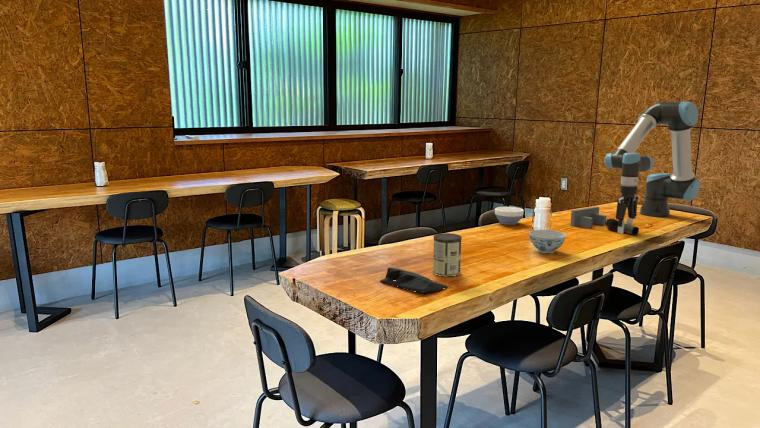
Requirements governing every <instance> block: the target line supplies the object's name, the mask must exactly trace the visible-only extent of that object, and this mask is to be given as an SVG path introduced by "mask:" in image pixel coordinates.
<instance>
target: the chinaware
mask: <svg viewBox="0 0 760 428" xmlns="http://www.w3.org/2000/svg"><path fill="white" fill-rule="evenodd" d="M566 236H567V235H566V233H564V232H562V231H557V230H552V229H534V230H531V231H529V232H528V237H529V240H530V242H531V244H532V245H533V247H535V249H537V251H538V252H539V253H542V254H546V253H551V254H554V253H555V251H556V250H558V249H560V248H561V247H562V246H563V244H564V243H565V241H566V240H565V239H566Z"/></svg>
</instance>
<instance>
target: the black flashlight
mask: <svg viewBox="0 0 760 428" xmlns="http://www.w3.org/2000/svg"><path fill="white" fill-rule="evenodd" d="M604 226H606V227H607V229H608V230H609V231H611V232H616V231H617V232H618V220H617V219H616V218H615V217H613V218H610V217H609V218H606V222H605V225H604ZM639 229H640V228H639V227H638V226H636V225H629V224H627V223H624V233H627V234H629V235H632V236H637V235H638V234H639V232H640V230H639Z"/></svg>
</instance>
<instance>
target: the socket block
mask: <svg viewBox="0 0 760 428" xmlns="http://www.w3.org/2000/svg"><path fill="white" fill-rule="evenodd" d="M570 214H571V215H570V226H571V227H583V228H587V229H592V228H593V224H594V225H599V226H606V225H605V222H606V220H607V215H605V214H601V213H600V206H591V207H583V208H578V209H572V210H571V213H570Z"/></svg>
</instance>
